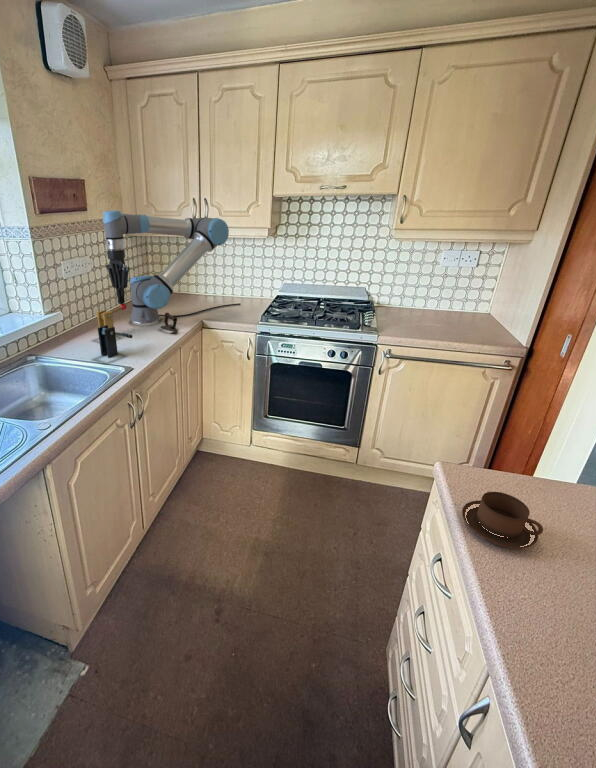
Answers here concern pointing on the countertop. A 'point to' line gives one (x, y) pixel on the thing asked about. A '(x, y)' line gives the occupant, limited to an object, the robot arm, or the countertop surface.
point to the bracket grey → (108, 341)
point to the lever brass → (121, 307)
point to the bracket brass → (105, 319)
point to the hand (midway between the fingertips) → (121, 303)
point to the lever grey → (119, 334)
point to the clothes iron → (170, 327)
